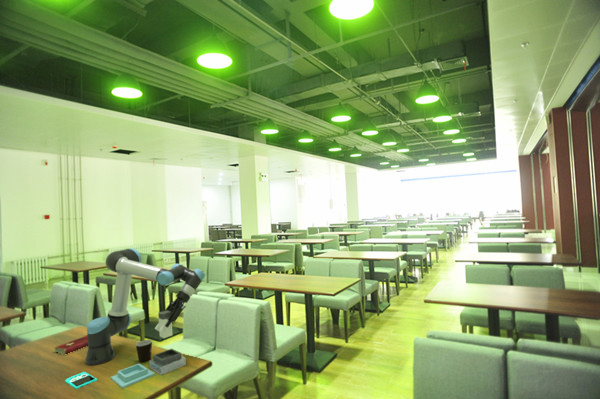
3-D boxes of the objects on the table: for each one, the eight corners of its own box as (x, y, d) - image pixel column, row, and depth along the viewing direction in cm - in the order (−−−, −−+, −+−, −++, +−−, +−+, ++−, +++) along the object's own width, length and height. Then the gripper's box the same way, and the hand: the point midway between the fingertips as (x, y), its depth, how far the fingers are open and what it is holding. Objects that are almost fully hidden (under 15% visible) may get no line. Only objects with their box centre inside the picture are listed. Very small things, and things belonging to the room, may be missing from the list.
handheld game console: (85, 373, 187) (85, 371, 187) (98, 381, 177) (97, 378, 177) (64, 381, 179) (63, 379, 179) (76, 390, 169) (76, 387, 169)
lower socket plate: (110, 378, 178) (110, 372, 178) (141, 366, 189) (141, 360, 190) (122, 388, 167) (122, 381, 167) (154, 375, 179) (154, 368, 179)
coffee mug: (146, 363, 193) (145, 346, 193) (133, 363, 194) (132, 345, 195) (159, 354, 204) (158, 338, 204) (146, 354, 206) (145, 337, 206)
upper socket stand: (149, 367, 188) (148, 355, 188) (173, 358, 198) (172, 347, 198) (161, 375, 178) (160, 362, 178) (185, 364, 188) (185, 352, 189)
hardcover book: (98, 343, 231) (97, 336, 231) (64, 356, 213) (64, 349, 213) (87, 340, 237) (87, 334, 237) (54, 353, 218) (53, 346, 218)
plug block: (159, 336, 188) (158, 312, 188) (168, 333, 192) (167, 310, 192) (163, 338, 185) (162, 314, 185) (172, 335, 188) (171, 311, 189)
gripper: (197, 299, 194) (171, 338, 181) (182, 295, 206) (156, 330, 194) (188, 292, 190) (161, 331, 178) (173, 288, 202) (146, 324, 190)
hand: (159, 330), depth 186 cm, fingers closed on plug block, 5 cm apart
